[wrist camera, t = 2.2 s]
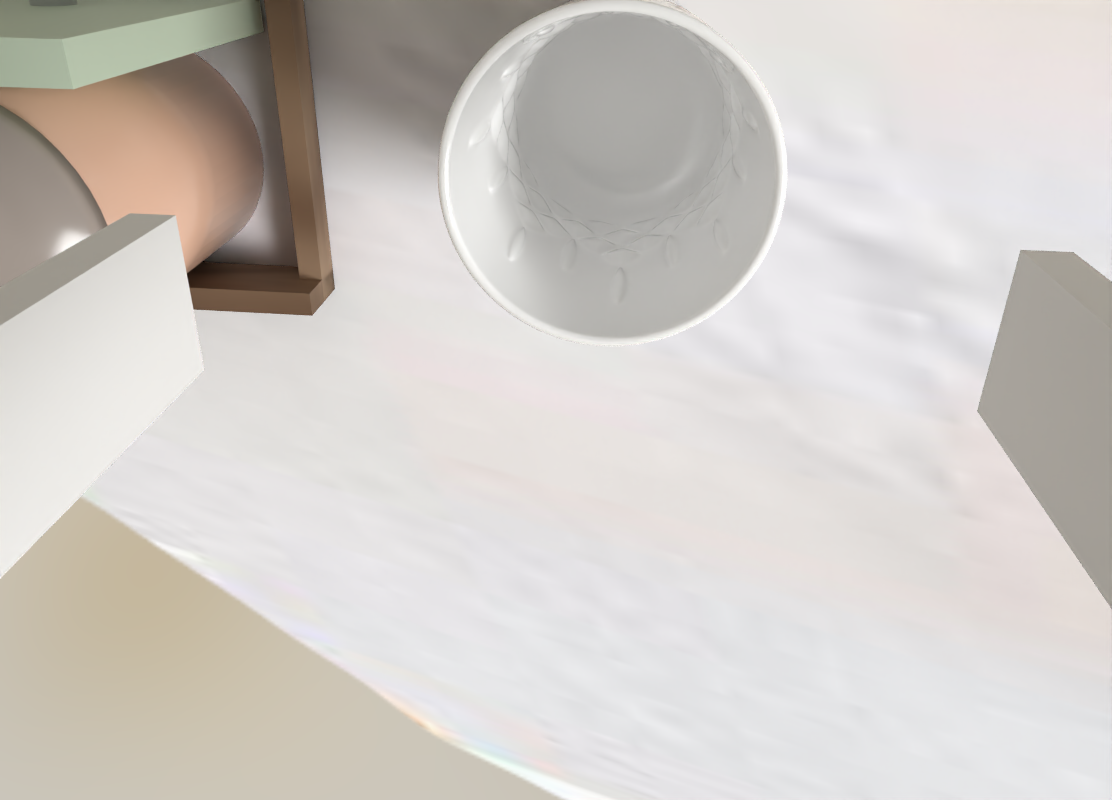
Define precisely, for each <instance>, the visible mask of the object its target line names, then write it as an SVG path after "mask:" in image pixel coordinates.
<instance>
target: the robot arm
mask: <svg viewBox="0 0 1112 800" xmlns="http://www.w3.org/2000/svg"><path fill="white" fill-rule="evenodd" d="M204 370H205V368H204V363H203V358H202V352H201V347H200V342H199V336H198V331H197V326H196V320H195V315H194V310H193V304H192V299H191V294H190V289H189V283H188V278H187V273H186V267H185V262H184V257H183V251H182V246H181V241H180V235H179V230H178V225H177V219H176V215H158V214H134V213H129V214H128V215H126V216H124V217H122V218H121V219H119V220H117V221H115V222H114V223H112V224H110V225H108V226H107V227H105V228H103V229H101V230H99V231H98V232H96V233H94V234H92V235H91V236H89V237H87V238H85V239H84V240H82V241H80V242H78V243H77V244H75V245H73V246H71V247H70V248H68V249H66V250H64V251H63V252H61V253H59V254H57V255H56V256H54V257H52V258H50V259H49V260H47V261H45V262H43V263H41V264H40V265H38V266H36V267H34V268H33V269H31V270H29V271H27V272H26V273H24V274H22V275H20V276H19V277H17V278H15V279H13V280H12V281H10V282H8V283H6V284H5V285H3V286H1V287H0V578H1V577H2V576H3V575H4V574H5V573H6V572H7V571H8V570H9V569H10V568H11V567H12V566H13V565H14V564H15V563H16V562H17V561H18V560H19V559H20V558H21V557H22V556H23V555H24V554H25V553H26V552H27V551H28V550H29V549H30V548H31V547H32V546H33V545H34V544H35V543H36V541H37V540H38V539H39V538H40V537H41V536H42V535H43V534H44V533H45V532H46V531H47V530H48V529H49V528H50V527H51V526H52V525H53V524H54V523H55V522H56V521H57V520H58V519H59V518H60V517H61V516H62V515H63V514H64V513H65V512H66V511H67V510H68V509H69V508H70V507H71V506H72V505H73V504H74V503H75V502H76V501H77V500H78V499H79V498H80V497H81V496H82V495H83V494H84V492H85V491H86V490H87V489H88V488H89V487H90V486H91V485H92V484H93V483H94V482H95V481H96V480H97V479H98V478H99V477H100V476H101V475H102V474H103V473H104V472H105V471H106V470H107V469H108V468H109V467H110V466H111V465H112V464H113V463H114V462H115V461H116V460H117V459H118V458H119V457H120V456H121V455H122V454H123V453H124V452H125V451H126V450H127V449H128V448H129V447H130V445H131V444H132V443H133V442H134V441H135V440H136V439H137V438H138V437H139V436H140V435H141V434H142V433H143V432H144V431H145V430H146V429H147V428H148V427H149V426H150V425H151V424H152V423H153V422H154V421H155V420H156V419H157V418H158V417H159V416H160V415H161V414H162V413H163V412H164V411H165V410H166V409H167V408H168V407H169V406H170V405H171V404H172V403H173V402H174V401H175V400H176V398H177V397H178V396H179V395H180V394H181V393H182V392H183V391H184V390H185V389H186V388H187V387H188V386H189V385H190V384H191V383H192V382H193V381H194V380H195V379H196V378H197V377H198V376H199V375H200V374H201V373H202V372H203V371H204ZM977 411H978V413H979V414H980V416H981V417H982V419H983V420H984V422H985V423H986V425H987V426H988V427H989V429H990V430H991V432H992V433H993V435H994V436H995V438H996V439H997V441H998V442H999V444H1000V445H1001V447H1002V448H1003V450H1004V451H1005V453H1006V454H1007V455H1008V457H1009V458H1010V460H1011V461H1012V463H1013V464H1014V466H1015V467H1016V469H1017V470H1018V472H1019V473H1020V475H1021V476H1022V478H1023V479H1024V480H1025V482H1026V483H1027V485H1028V486H1029V488H1030V489H1031V491H1032V492H1033V494H1034V495H1035V497H1036V498H1037V500H1038V501H1039V503H1040V504H1041V506H1042V507H1043V508H1044V510H1045V511H1046V513H1047V514H1048V516H1049V517H1050V519H1051V520H1052V522H1053V523H1054V525H1055V526H1056V528H1057V529H1058V531H1059V532H1060V533H1061V535H1062V536H1063V538H1064V539H1065V541H1066V542H1067V544H1068V545H1069V547H1070V548H1071V550H1072V551H1073V553H1074V554H1075V556H1076V557H1077V559H1078V560H1079V561H1080V563H1081V564H1082V566H1083V567H1084V569H1085V570H1086V572H1087V573H1088V575H1089V576H1090V578H1091V579H1092V581H1093V582H1094V584H1095V585H1096V587H1097V588H1098V589H1099V591H1100V592H1101V594H1102V595H1103V597H1104V598H1105V600H1106V601H1107V603H1108V604H1109V606H1110V607H1111V609H1112V282H1111V281H1110V280H1109V279H1107V278H1106V277H1105V276H1103V275H1102V274H1101V273H1100V272H1098V271H1097V270H1096V269H1094V268H1093V267H1092V266H1090V265H1089V264H1088V263H1087V262H1085V261H1084V260H1083V259H1081V258H1080V257H1079V256H1078V255H1076V254H1075V253H1074V252H1055V251H1030V250H1020V254H1019V258H1018V261H1017V265H1016V269H1015V273H1014V276H1013V280H1012V284H1011V287H1010V291H1009V295H1008V298H1007V302H1006V306H1005V310H1004V313H1003V317H1002V321H1001V324H1000V328H999V332H998V336H997V339H996V343H995V347H994V350H993V354H992V358H991V362H990V365H989V369H988V373H987V376H986V380H985V384H984V388H983V391H982V395H981V399H980V402H979V406H978V410H977Z"/></svg>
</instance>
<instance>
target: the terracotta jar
mask: <svg viewBox="0 0 1112 800" xmlns="http://www.w3.org/2000/svg"><path fill="white" fill-rule="evenodd" d="M263 173H264V167H263V154H262V149H261V144H260V140H259V137H258V134H257V131H256V128H255V125H254V123H253V121H252V118H251V116H250V114H249V112H248V110H247V108H246V107H245V105H244V103H243V102H242V100H241V98H240V97H239V96H238V94H237V93H236V92H235V90H234V89H233V88H232V86H231V85H230V84H229V83H228V82H227V81H226V80H225V79H224V77H223V76H222V75H221V74H220V73H219V72H218V71H216V70H215V69H214V68H213V67H212V66H211V65H209V64H208V63H207V62H206V61H204V60H203V59H201V58H200V57H198V56H197V55H196V54H194V53H192V54H188V55H185V56H182V57H179V58H175V59H172V60H169V61H165V62H162V63H159V64H155V65H152V66H149V67H145V68H142V69H139V70H136V71H132V72H129V73H126V74H122V75H119V76H116V77H112V78H109V79H106V80H102V81H99V82H96V83H93V84H89V85H86V86H83V87H79V88H76V89H50V88H20V87H0V287H1V286H3V285H5V284H6V283H8V282H10V281H12V280H13V279H15V278H17V277H19V276H20V275H22V274H24V273H26V272H27V271H29V270H31V269H33V268H34V267H36V266H38V265H40V264H41V263H43V262H45V261H47V260H49V259H50V258H52V257H54V256H56V255H57V254H59V253H61V252H63V251H64V250H66V249H68V248H70V247H71V246H73V245H75V244H77V243H78V242H80V241H82V240H84V239H85V238H87V237H89V236H91V235H92V234H94V233H96V232H98V231H99V230H101V229H103V228H105V227H107V226H108V225H110V224H112V223H114V222H115V221H117V220H119V219H121V218H122V217H124V216H126V215H128V214H129V213H134V214H158V215H176V219H177V225H178V230H179V235H180V241H181V246H182V251H183V257H184V262H185V267H186V273H188V272H189V271H191V270H192V269H193V268H195V267H196V266H197V265H198V264H200V263H201V262H202V261H204V260H205V259H206V258H208V257H209V256H210V255H211V254H213V253H214V252H215V251H217V250H218V249H219V248H220V247H222V246H223V245H224V244H226V243H227V242H228V241H229V240H231V239H232V238H233V237H235V236H236V235H237V234H238V233H239V232H240V231H241V230H242V229H243V228H244V227H245V225H246V224H247V223H248V221H249V220H250V219H251V217H252V215H253V213H254V211H255V209H256V207H257V204H258V201H259V198H260V195H261V190H262V185H263Z"/></svg>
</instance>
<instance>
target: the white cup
mask: <svg viewBox="0 0 1112 800" xmlns="http://www.w3.org/2000/svg"><path fill="white" fill-rule="evenodd" d="M786 187H787V156H786V147H785V141H784V136H783V131H782V127H781V124H780V120H779V117H778V114H777V111H776V109H775V106H774V104H773V101H772V99H771V97H770V95H769V93H768V91H767V89H766V87H765V86H764V84H763V82H762V81H761V79H760V77H759V76H758V74H757V73H756V72H755V70H754V69H753V67H752V66H751V65H750V64H749V62H748V61H747V60H746V59H745V58H744V56H743V55H742V54H741V53H740V52H739V51H738V50H737V49H736V48H735V47H734V46H733V45H732V44H731V43H730V42H729V41H727V40H726V39H725V38H724V37H723V36H721V35H720V34H719V33H717V32H716V31H715V30H713V29H712V28H711V27H710V26H709V25H708V24H707V23H705V22H704V21H703V20H701V19H700V18H699V17H697V16H696V15H694V14H693V13H691V12H690V11H688V10H686V9H685V8H683V7H681V6H679V5H676V4H674V3H672V2H669V1H667V0H573V1H570V2H568V3H565V4H563V5H560V6H558V7H556V8H554V9H552V10H549V11H547V12H544V13H542V14H540V15H538V16H535V17H534V18H532V19H530V20H528V21H526V22H524V23H523V24H521V25H520V26H518V27H516V28H515V29H513V30H512V31H511V32H509V33H508V34H507V35H505V36H504V37H503V38H502V39H500V40H499V41H498V42H497V43H496V44H495V45H494V46H492V47H491V48H490V49H489V50H488V51H487V52H486V54H485V55H484V56H483V57H482V58H481V59H480V60H479V61H478V63H477V64H476V65H475V66H474V68H473V69H472V70H471V72H470V73H469V75H468V76H467V78H466V79H465V81H464V82H463V84H462V86H461V87H460V89H459V91H458V93H457V95H456V97H455V99H454V101H453V103H452V106H451V108H450V111H449V113H448V116H447V119H446V122H445V126H444V129H443V133H442V138H441V143H440V150H439V159H438V188H439V197H440V203H441V208H442V213H443V217H444V220H445V224H446V227H447V230H448V233H449V235H450V238H451V240H452V243H453V245H454V247H455V249H456V251H457V253H458V255H459V257H460V259H461V260H462V262H463V264H464V265H465V267H466V268H467V270H468V271H469V273H470V274H471V276H472V277H473V278H474V280H475V281H476V282H477V283H478V284H479V286H480V287H481V288H482V289H483V290H484V291H485V292H486V293H487V294H488V295H489V296H490V297H491V298H492V299H493V300H494V301H495V302H496V303H497V304H498V305H500V306H501V307H502V308H503V309H505V310H506V311H507V312H508V313H510V314H511V315H513V316H514V317H516V318H517V319H519V320H520V321H522V322H524V323H525V324H527V325H529V326H531V327H533V328H535V329H537V330H539V331H541V332H544V333H546V334H549V335H551V336H554V337H557V338H560V339H564V340H567V341H571V342H576V343H581V344H587V345H596V346H627V345H636V344H643V343H648V342H652V341H656V340H660V339H663V338H666V337H669V336H672V335H675V334H677V333H680V332H682V331H684V330H687V329H689V328H691V327H693V326H694V325H696V324H698V323H700V322H702V321H703V320H705V319H706V318H708V317H709V316H711V315H712V314H714V313H715V312H717V311H718V310H719V309H720V308H722V307H723V306H724V305H725V304H727V303H728V302H729V301H730V300H731V299H732V298H733V297H734V296H735V295H736V294H737V293H738V292H739V291H740V290H741V289H742V288H743V287H744V286H745V284H746V283H747V282H748V281H749V279H750V278H751V277H752V276H753V274H754V273H755V271H756V270H757V269H758V267H759V266H760V264H761V262H762V261H763V259H764V257H765V255H766V254H767V252H768V250H769V248H770V246H771V244H772V241H773V239H774V237H775V234H776V231H777V229H778V226H779V223H780V219H781V216H782V212H783V207H784V202H785V196H786Z"/></svg>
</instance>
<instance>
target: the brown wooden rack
mask: <svg viewBox="0 0 1112 800" xmlns="http://www.w3.org/2000/svg"><path fill="white" fill-rule="evenodd" d="M264 4H265V12H266V19H267V27H268V35H269V43H270V51H271V59H272V66H273V74H274V82H275V90H276V98H277V106H278V113H279V121H280V129H281V137H282V145H283V153H284V160H285V168H286V176H287V184H288V192H289V200H290V207H291V215H292V223H293V231H294V239H295V246H296V254H297V262H298V267H295V266H274V265H253V264H232V263H211V262H201V263H200V264H198V265H197V266H196V267H195V268H193V269H192V270H191V271H189V272H188V273H187V278H188V283H189V289H190V294H191V299H192V304H193V309H196V310H215V311H234V312H254V313H273V314H293V315H313V314H314V313H315V312H316V310H317V309H318V308H319V307H320V306H321V305H322V303H323V302H324V301H325V300H326V299H327V297H328V296H329V295H330V294H331V293H332V292H333V290H334V289H335V287H334V278H333V269H332V260H331V251H330V241H329V232H328V223H327V214H326V205H325V195H324V186H323V177H322V168H321V159H320V150H319V140H318V131H317V122H316V113H315V104H314V94H313V85H312V76H311V67H310V58H309V48H308V39H307V30H306V21H305V12H304V2H303V0H264Z"/></svg>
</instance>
